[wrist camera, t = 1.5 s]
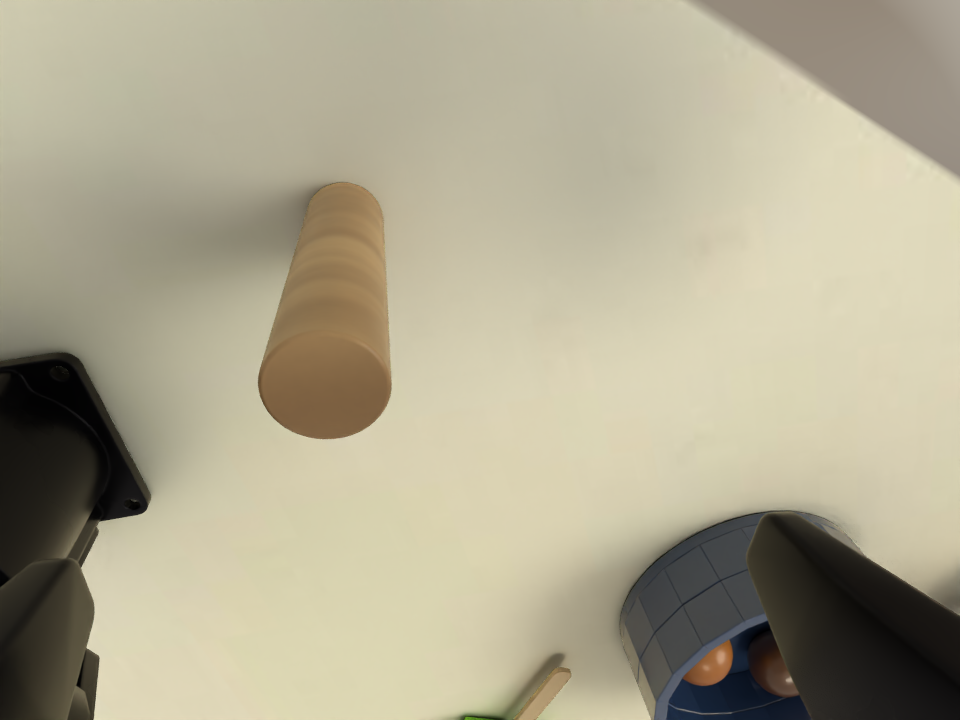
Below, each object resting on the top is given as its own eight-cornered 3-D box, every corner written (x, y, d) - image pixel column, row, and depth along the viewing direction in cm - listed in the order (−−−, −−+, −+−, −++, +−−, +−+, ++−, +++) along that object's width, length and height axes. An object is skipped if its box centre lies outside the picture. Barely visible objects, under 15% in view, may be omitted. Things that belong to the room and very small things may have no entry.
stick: (297, 187, 17) (240, 343, 10) (375, 176, 17) (379, 322, 10) (316, 259, 18) (277, 450, 11) (389, 249, 19) (401, 429, 11)
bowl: (622, 538, 27) (664, 628, 23) (880, 490, 28) (960, 568, 24) (616, 691, 33) (647, 781, 30) (825, 648, 34) (882, 730, 31)
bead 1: (656, 608, 29) (684, 667, 27) (717, 596, 29) (749, 654, 27) (653, 646, 31) (678, 705, 28) (710, 634, 31) (741, 692, 28)
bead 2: (739, 623, 31) (772, 680, 28) (796, 612, 31) (834, 668, 28) (732, 658, 32) (763, 715, 30) (785, 647, 33) (820, 703, 30)
